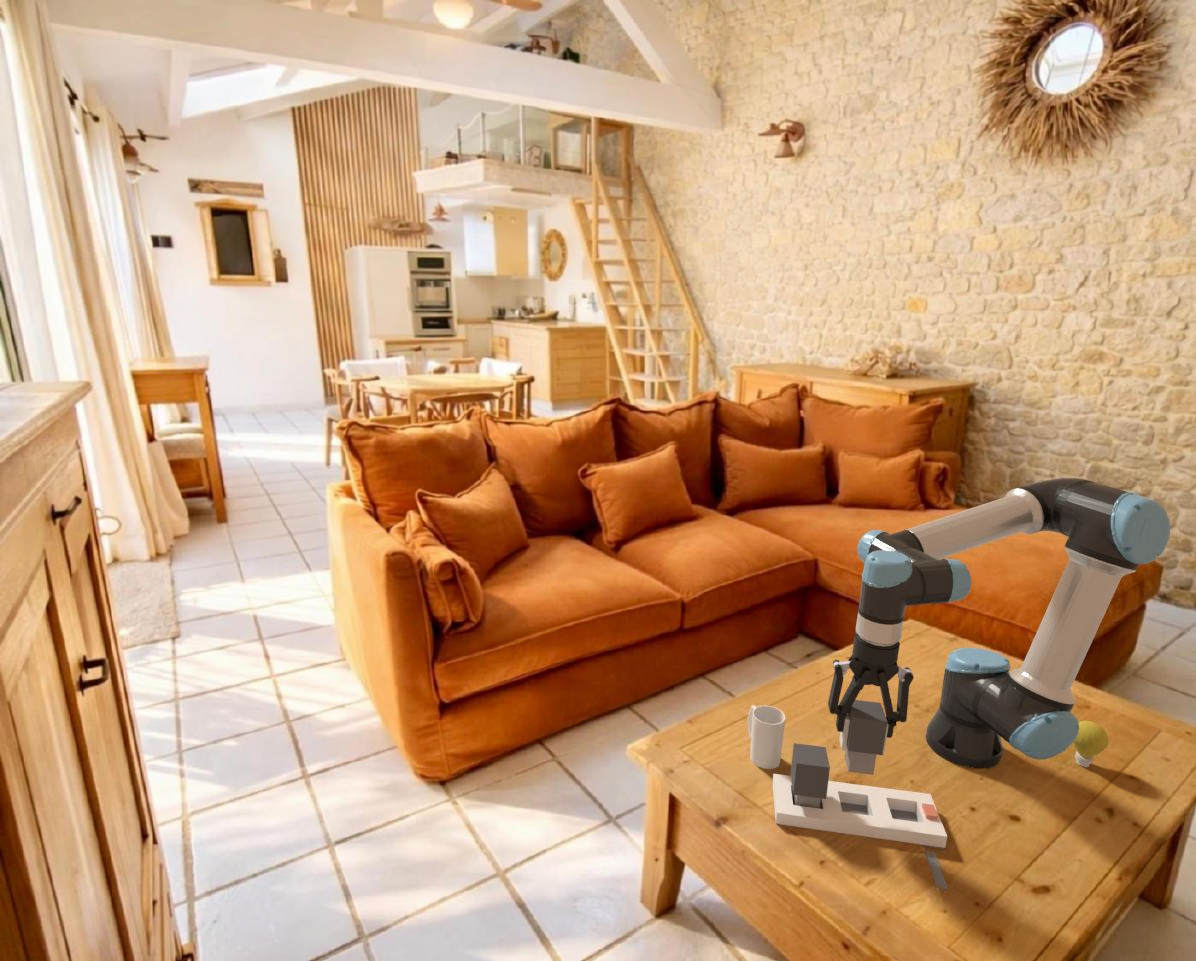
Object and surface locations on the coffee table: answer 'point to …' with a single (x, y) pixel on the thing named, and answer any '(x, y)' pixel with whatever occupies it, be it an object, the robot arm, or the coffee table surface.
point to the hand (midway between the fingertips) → (861, 747)
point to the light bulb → (1089, 742)
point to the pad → (936, 870)
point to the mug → (766, 735)
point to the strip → (864, 813)
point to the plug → (865, 736)
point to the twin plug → (809, 775)
